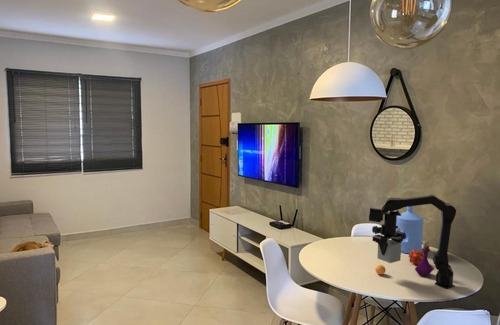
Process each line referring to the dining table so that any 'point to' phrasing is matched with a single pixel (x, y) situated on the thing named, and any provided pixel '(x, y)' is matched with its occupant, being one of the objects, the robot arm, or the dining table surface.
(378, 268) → the ball
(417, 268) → the perfume bottle
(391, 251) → the matte grey cube
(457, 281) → the dining table surface
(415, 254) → the dragon fruit
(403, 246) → the water jug
